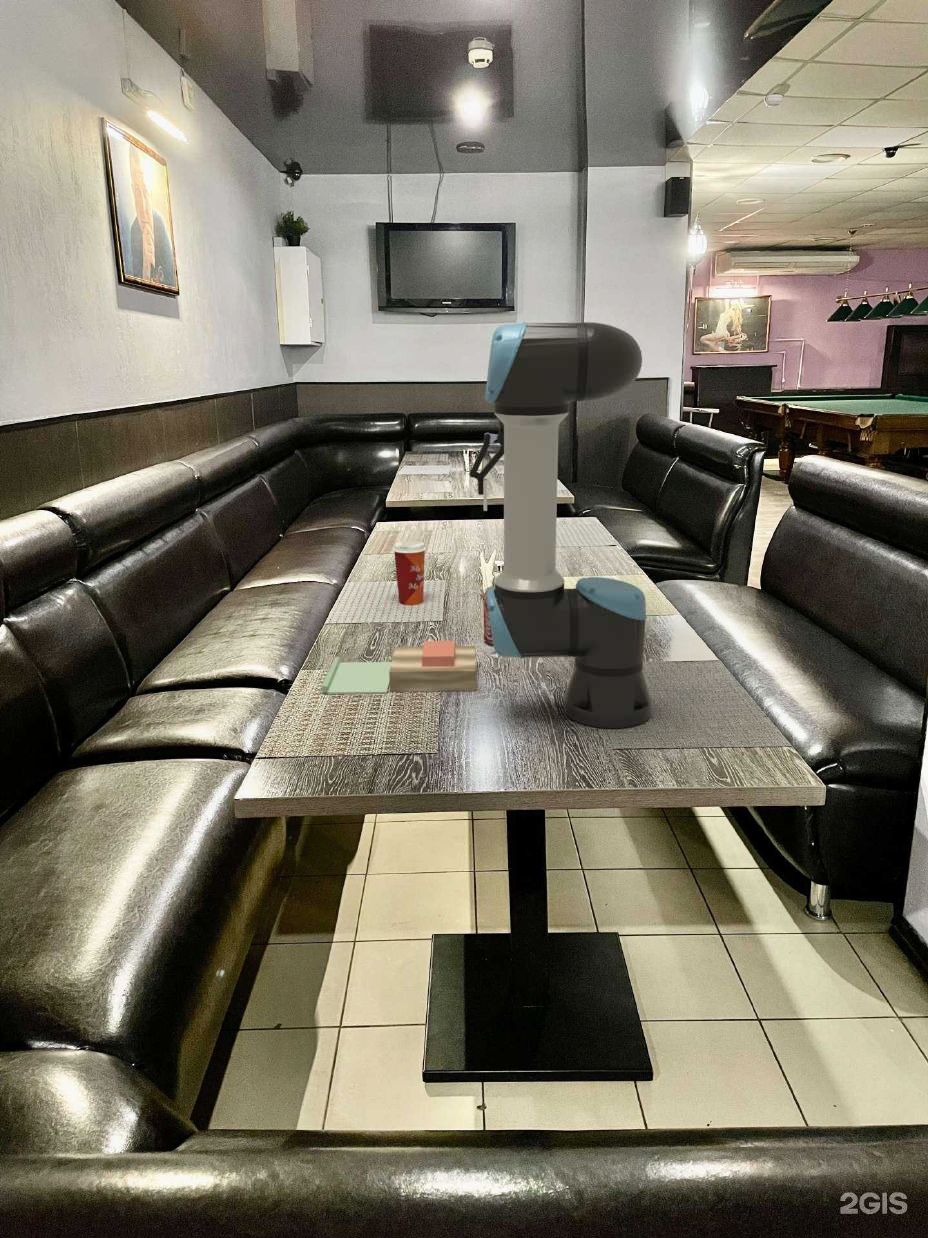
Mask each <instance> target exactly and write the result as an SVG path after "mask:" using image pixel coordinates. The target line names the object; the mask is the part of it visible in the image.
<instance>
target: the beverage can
mask: <svg viewBox="0 0 928 1238" xmlns="http://www.w3.org/2000/svg"><path fill="white" fill-rule="evenodd" d="M492 588H494V589H495V585H493V586H489V587H487V588H486V589H485V590H486V591H485V592H484V594H483V596H482V597H483V600H482V602H483V603H482V604H483V606H482V607H483V641H485V642H486V643H488V644H490V645H493V639H492V632H491V625H490V618H489V610H488V603H487V591H488V590H490V589H492ZM493 646H494V645H493Z"/></svg>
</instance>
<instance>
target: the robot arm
mask: <svg viewBox="0 0 928 1238" xmlns="http://www.w3.org/2000/svg"><path fill="white" fill-rule="evenodd" d="M493 332H494V333H493V334H492V335H493V336H492V339H491V346H490V353H489V360H488V366H487V367H488V369H487V377H486V387H485V397H484V398H485V399H484V400H485V401H486V403H490V404H494V415H495V416H496V418H497V419H498V433H496V434H495V433H490V432H486V433H484V439H483V444H482V446H481V448H480V450H479V451H478V454H477V456H476V458H475V461H474V462H473V465H472V467H471V469H470V471H469V477H470V478H473V479H476V480H477V494H478V495H479V496H483V507H482V508H483V511H485V512H487V511H488V479H487V478H485V477H486V476H487V475H488V474H489V473H490V472H491V470H492V469H493V468H494V467H495V465H496V464H497V463H499V461H500V460H501V458H502V457H503V460H504V461H503V570H502V571H501V572H500V573H499V574H498V575H497V576H496V577H495V579H494V586H495V589H494V588H492V589H490V590H488V591H487V603H488V610H489V618H490V625H491V632H492V639H493V649H494V652H495V653H496V654H498V656H500V657H503V658H518V659H521V660H522V659H524V658H525V659H526V658H527V659H528V658H570V657H573V658H574V669H573V671H572V674H571V677H570V680H569V682H568V685H567V687H566V690H565V693H564V696H563V712H564V714H565V715H566V716H567V718H569V719H571V720H572V721H575V722H577V723H579V724H582V725H584V726H585V725H586V726H590V727H594V728H600V729H602V728H603V729H621V728H624V729H625V728H629V727H630V728H631V727H635V726H638V725H640V724H643V723H644V722H646V721H648V719H650V716H651V714H652V700H651V699H652V698H651V696H650V692H649V689H648V686H647V681H646V679H645V675H644V672H643V671H644V669H643V666H644V653H645V652H644V649H645V647H644V646H645V634H646V632H645V630H646V629H645V627H646V620H647V613H646V610H647V607H646V604H647V602H646V596H645V594H644V592H643V591H642V590H641V589H640V588H639V587H638V586H636V585H634V584H631V583H629V582H626V581H623V580H619V579H615V578H614V579H613V578H608V577H601V576H589V577H582V578H580V579H578V580H577V581H576V583H575V588H565V579H564V577H563V576H562V575H561V574H560V573H559V572H558V571H557V570H556V559H557V558H556V557H557V555H556V554H557V551H556V550H557V516H558V515H557V512H558V511H557V507H558V506H557V505H558V478H559V477H563V476H564V475H565V472H564V470H563V468H562V466H561V464H560V462H559V458H558V457H559V427H560V423H561V422H562V421H564V419H565V418H566V417H567V416H569V413H570V412H569V411H570V410H569V407H570V402H586V401H587V402H589V401H596V400H602V399H606V398H609V397H612V396H614V395H617V394H620V393H621V392H623V391H625V390H627V389H628V388H629V387H631V385H632V384H633V383H634V382H635V381H636V380H637V378H638V377H639V374H640V372H641V369H642V365H643V356H642V350H641V347H640V345H639V343H638V341H637V340H636V339H635V338H634V337H633V336H632V335H631V334H630V333H628V332H627V331H625V330H623V329H620V328H618V327H616V326H613V325H610V324H605V323H600V322H594V321H593V322H590V321H589V322H526V321H524V322H519V323H509V324H501V325H500V326H498V327H497V328H496V329H495V330H494V331H493ZM496 440H497V442H498V443H499V445H500V447H499V448H498V450H496V453H494V455H493V456H492V457H491V459H490V460H489V461H488V462H487V463H486V465H485V466H484V467H483V468H482V469H481V471H480V472H478V470H479V468H480V466H481V464H482V462H483V460H484V458H485V456H486V454H487V452H488V450H489V447H490V445H493V444H494V442H495V441H496Z"/></svg>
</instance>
